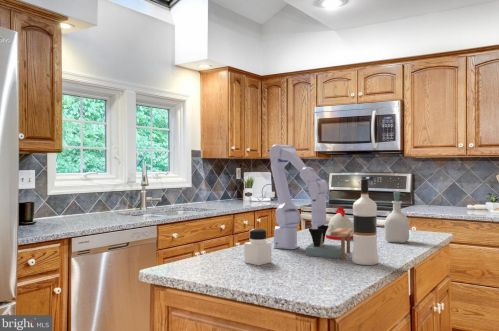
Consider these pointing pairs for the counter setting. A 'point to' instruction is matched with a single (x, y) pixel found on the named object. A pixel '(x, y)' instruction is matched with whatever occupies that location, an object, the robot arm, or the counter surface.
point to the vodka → (365, 229)
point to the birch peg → (321, 241)
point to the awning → (343, 239)
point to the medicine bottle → (257, 248)
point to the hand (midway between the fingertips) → (318, 245)
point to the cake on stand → (339, 224)
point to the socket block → (324, 250)
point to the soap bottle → (396, 223)
